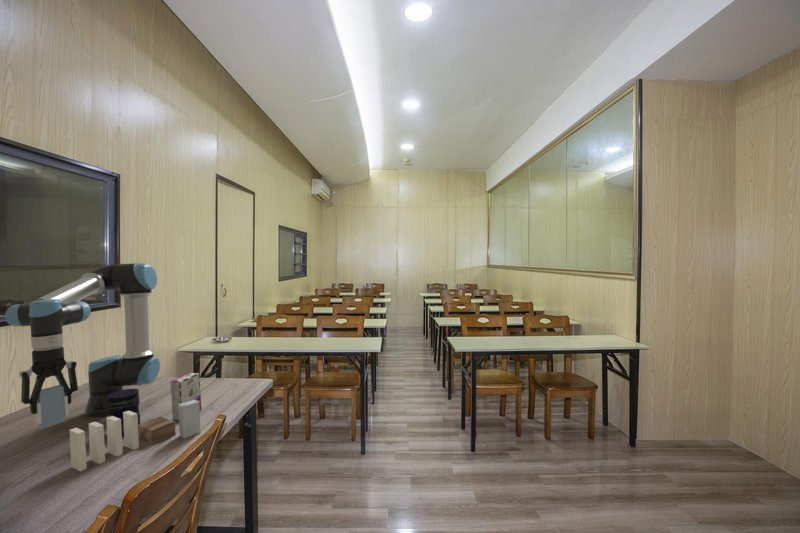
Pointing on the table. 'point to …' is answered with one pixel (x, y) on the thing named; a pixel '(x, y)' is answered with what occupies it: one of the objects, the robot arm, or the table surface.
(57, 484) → the table surface
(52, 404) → the tile
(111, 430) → the tile
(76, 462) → the tile
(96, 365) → the robot arm
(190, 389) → the candy bar box
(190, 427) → the skincare box
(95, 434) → the tile
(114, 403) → the storage jar
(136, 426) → the tile
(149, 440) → the end block
